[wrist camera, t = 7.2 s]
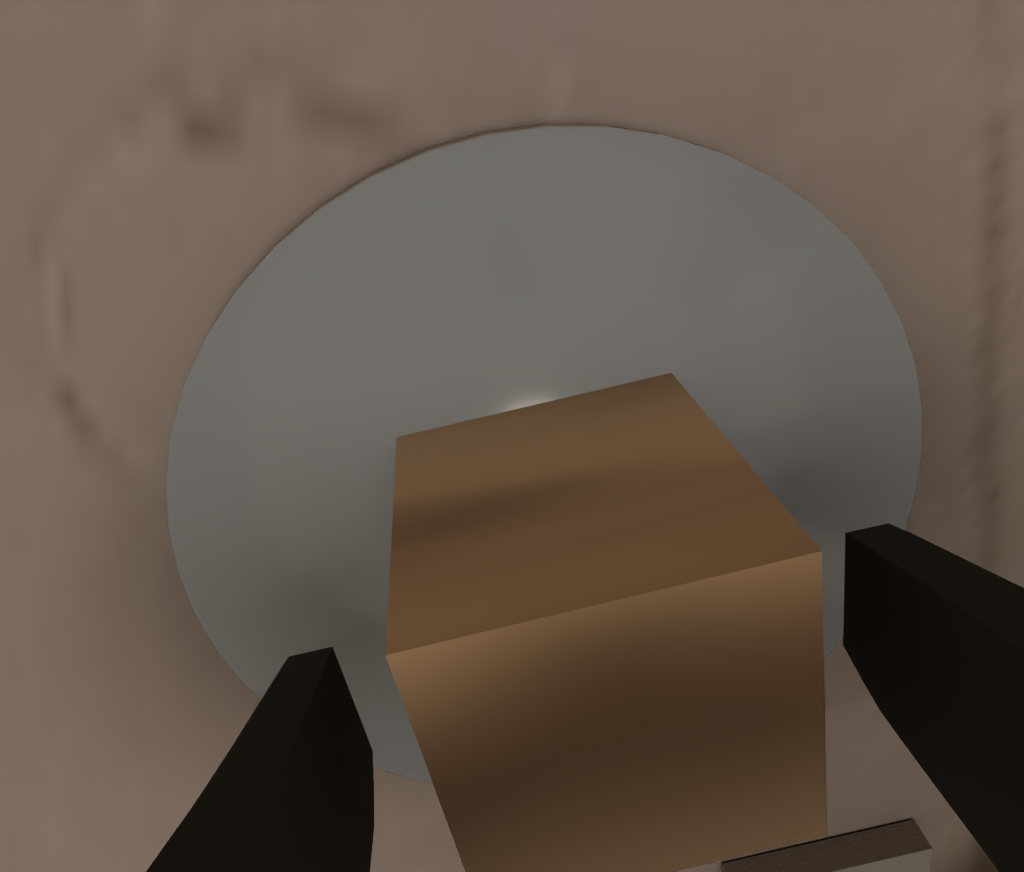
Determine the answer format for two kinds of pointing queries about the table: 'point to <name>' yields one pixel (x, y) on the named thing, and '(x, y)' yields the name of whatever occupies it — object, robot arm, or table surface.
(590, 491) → the walnut block
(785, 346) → the slate dish
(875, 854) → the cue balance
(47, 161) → the table surface
